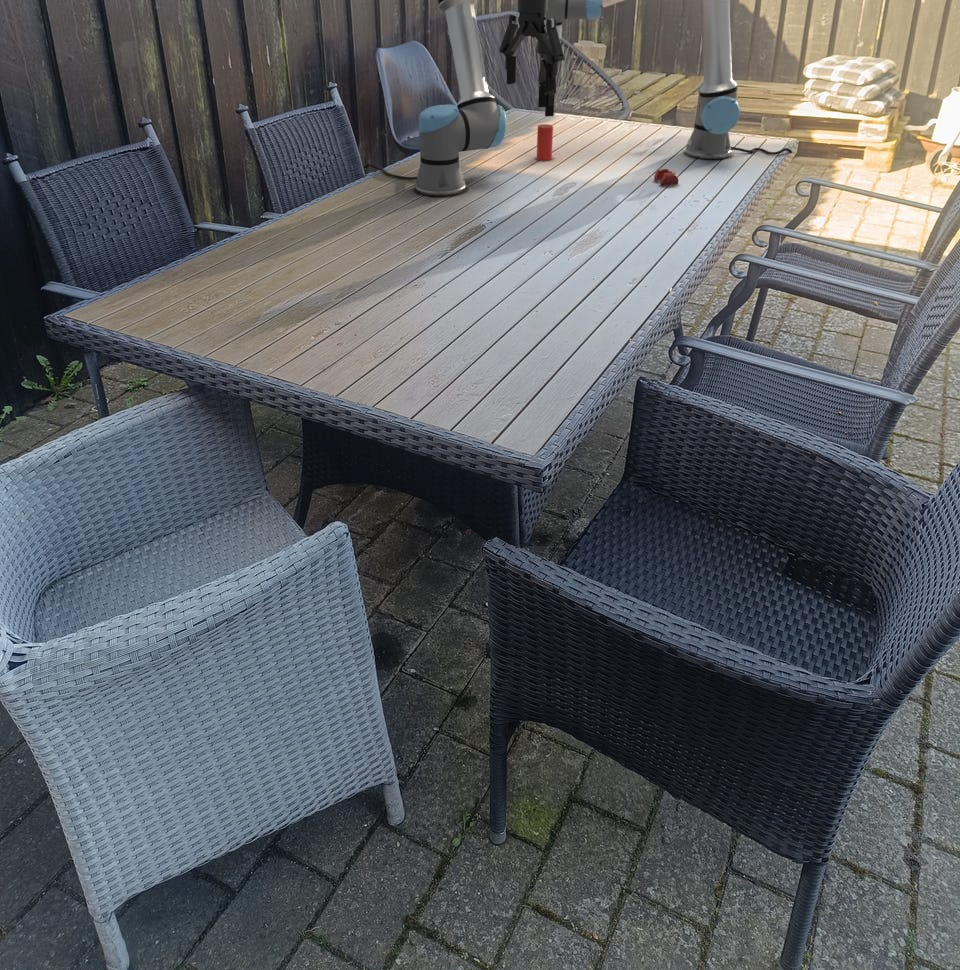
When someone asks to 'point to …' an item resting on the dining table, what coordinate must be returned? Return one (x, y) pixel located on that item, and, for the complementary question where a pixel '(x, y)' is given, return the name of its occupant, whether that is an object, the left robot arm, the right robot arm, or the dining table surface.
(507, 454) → the dining table surface
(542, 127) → the canister
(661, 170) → the red lumpy piece
